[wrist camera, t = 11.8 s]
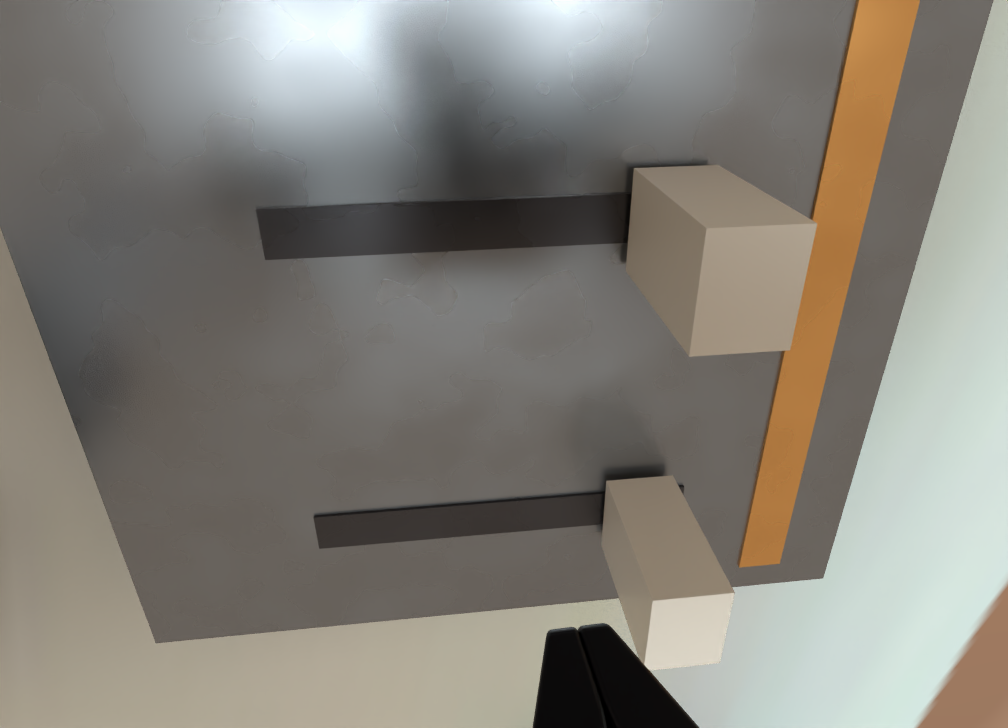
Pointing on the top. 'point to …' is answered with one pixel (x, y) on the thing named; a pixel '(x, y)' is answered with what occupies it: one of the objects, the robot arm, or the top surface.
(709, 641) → the block
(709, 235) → the block
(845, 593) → the top surface
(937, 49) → the switch panel
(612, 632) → the robot arm
